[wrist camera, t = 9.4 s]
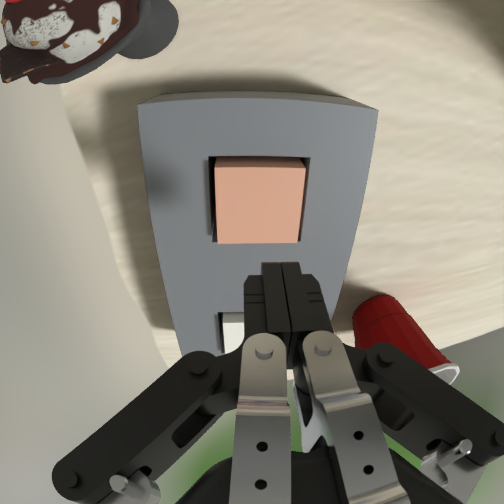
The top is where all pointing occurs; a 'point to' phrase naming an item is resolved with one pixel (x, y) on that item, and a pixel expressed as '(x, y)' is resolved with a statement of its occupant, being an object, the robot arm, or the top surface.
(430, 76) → the top surface
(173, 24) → the sundae
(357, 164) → the key panel
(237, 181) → the terracotta key
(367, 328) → the plastic cup
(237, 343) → the ivory key
